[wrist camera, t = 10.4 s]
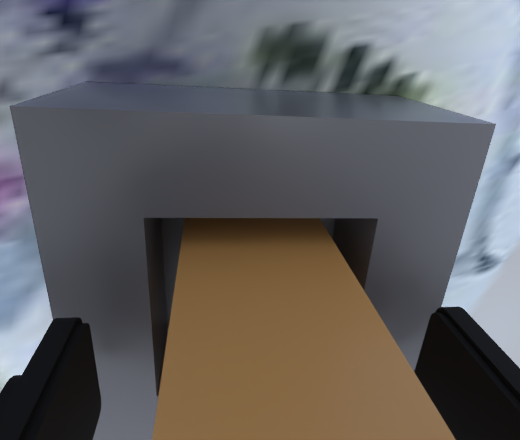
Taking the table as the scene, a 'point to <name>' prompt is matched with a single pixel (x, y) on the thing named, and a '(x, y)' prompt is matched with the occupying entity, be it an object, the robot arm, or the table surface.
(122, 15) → the table surface
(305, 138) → the socket block
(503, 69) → the table surface
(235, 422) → the plug
